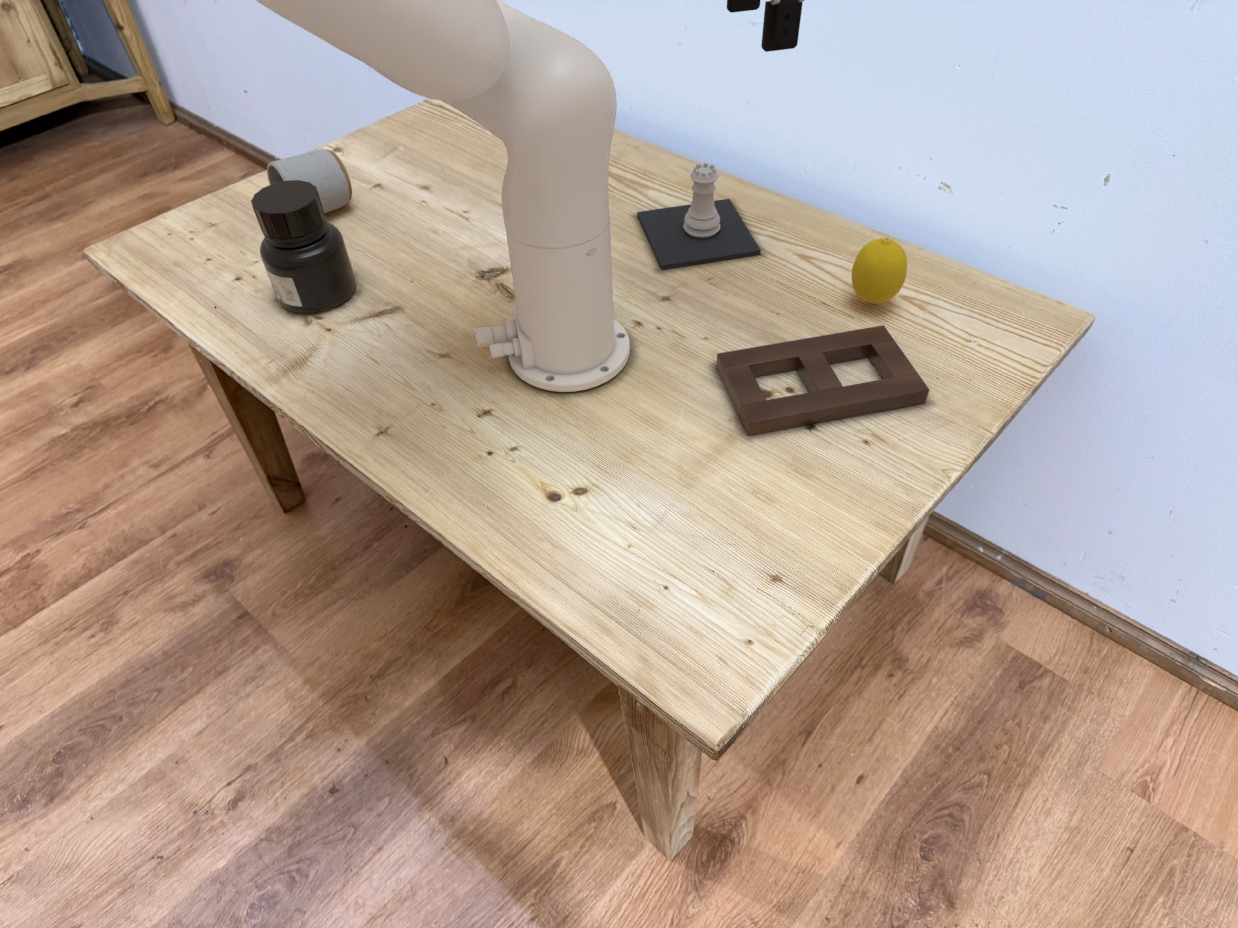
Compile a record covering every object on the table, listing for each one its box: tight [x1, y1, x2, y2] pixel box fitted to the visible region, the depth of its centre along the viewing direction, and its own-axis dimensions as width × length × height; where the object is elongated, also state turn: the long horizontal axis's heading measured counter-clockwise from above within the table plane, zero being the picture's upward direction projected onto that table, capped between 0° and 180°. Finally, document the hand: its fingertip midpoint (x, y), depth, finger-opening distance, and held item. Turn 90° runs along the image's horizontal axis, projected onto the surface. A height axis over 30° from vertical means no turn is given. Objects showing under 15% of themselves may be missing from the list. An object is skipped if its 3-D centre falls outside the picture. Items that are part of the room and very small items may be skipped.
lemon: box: [851, 237, 908, 305], centre depth 90 cm, size 6×6×8 cm
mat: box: [636, 198, 762, 271], centre depth 103 cm, size 12×12×1 cm
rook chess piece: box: [683, 162, 720, 239], centre depth 99 cm, size 4×4×8 cm
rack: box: [715, 324, 930, 436], centre depth 83 cm, size 10×18×2 cm, turn 103°
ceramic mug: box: [266, 148, 353, 214], centre depth 107 cm, size 11×8×8 cm
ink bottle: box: [250, 180, 357, 314], centre depth 93 cm, size 10×9×12 cm
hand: (760, 28), depth 79 cm, fingers open, 9 cm apart
